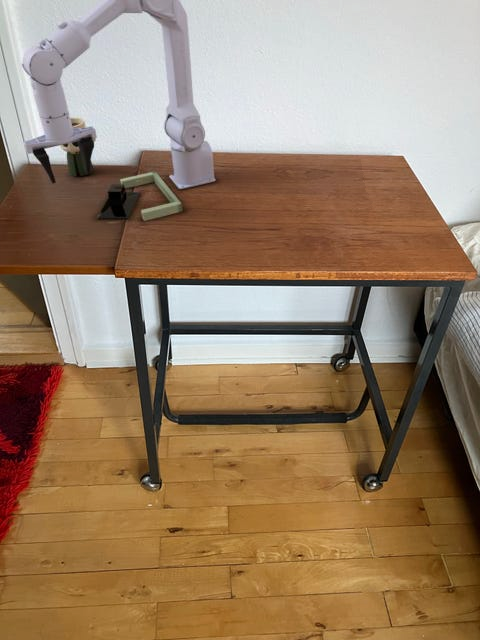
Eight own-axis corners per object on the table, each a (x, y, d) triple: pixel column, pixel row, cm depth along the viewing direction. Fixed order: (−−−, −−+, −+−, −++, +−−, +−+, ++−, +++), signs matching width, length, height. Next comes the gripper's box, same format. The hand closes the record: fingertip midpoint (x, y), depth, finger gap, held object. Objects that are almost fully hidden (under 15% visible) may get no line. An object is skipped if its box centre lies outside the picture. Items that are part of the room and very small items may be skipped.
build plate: (128, 220, 119) (124, 201, 116) (96, 220, 119) (91, 201, 116) (140, 193, 128) (137, 175, 125) (110, 193, 129) (106, 175, 125)
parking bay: (156, 178, 134) (155, 171, 132) (182, 211, 120) (181, 203, 119) (121, 186, 131) (119, 179, 130) (144, 221, 118) (142, 213, 116)
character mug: (57, 179, 135) (43, 128, 127) (64, 167, 141) (51, 117, 132) (99, 178, 135) (88, 126, 127) (105, 166, 141) (94, 116, 132)
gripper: (83, 100, 112) (96, 162, 121) (12, 115, 107) (32, 178, 116) (93, 110, 108) (107, 173, 116) (21, 126, 102) (40, 191, 111)
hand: (70, 177), depth 116 cm, fingers open, 7 cm apart
